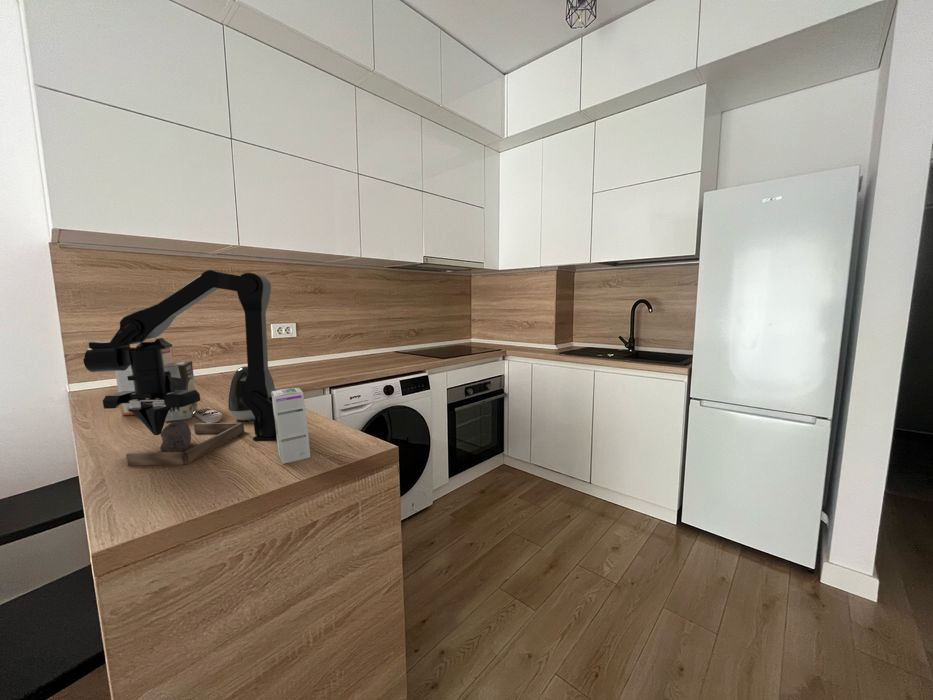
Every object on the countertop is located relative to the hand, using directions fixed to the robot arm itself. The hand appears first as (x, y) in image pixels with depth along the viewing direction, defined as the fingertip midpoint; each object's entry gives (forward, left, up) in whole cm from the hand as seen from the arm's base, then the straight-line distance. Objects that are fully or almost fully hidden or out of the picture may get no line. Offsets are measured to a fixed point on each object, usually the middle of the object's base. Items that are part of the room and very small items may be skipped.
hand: (157, 434), depth 88 cm
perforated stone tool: (-6, +2, -3) cm, 7 cm away
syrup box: (-36, +6, -3) cm, 36 cm away
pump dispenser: (-9, -22, -3) cm, 23 cm away
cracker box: (+28, -30, -3) cm, 41 cm away
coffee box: (+14, -25, -3) cm, 29 cm away
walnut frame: (-8, 0, -3) cm, 8 cm away
